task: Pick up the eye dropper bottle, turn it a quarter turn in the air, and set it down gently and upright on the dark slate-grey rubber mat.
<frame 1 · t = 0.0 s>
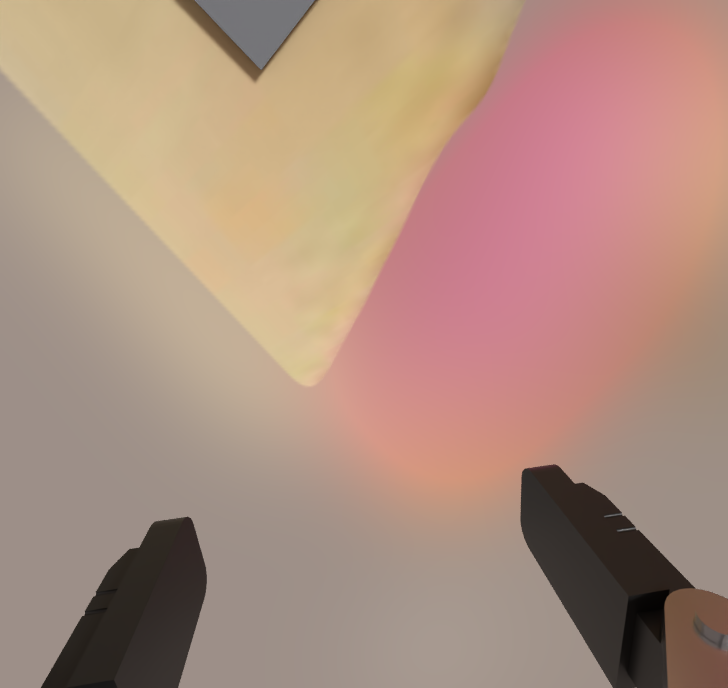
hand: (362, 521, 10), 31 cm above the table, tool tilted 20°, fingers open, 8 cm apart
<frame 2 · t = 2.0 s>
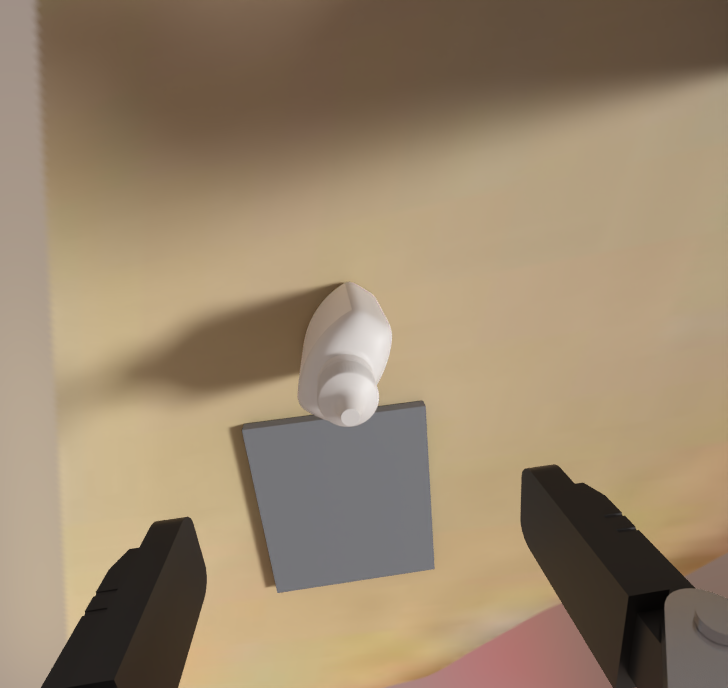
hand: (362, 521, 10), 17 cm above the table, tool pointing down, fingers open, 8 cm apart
eye dropper bottle: (338, 323, 27), on the table
slate mat: (346, 498, 31), on the table
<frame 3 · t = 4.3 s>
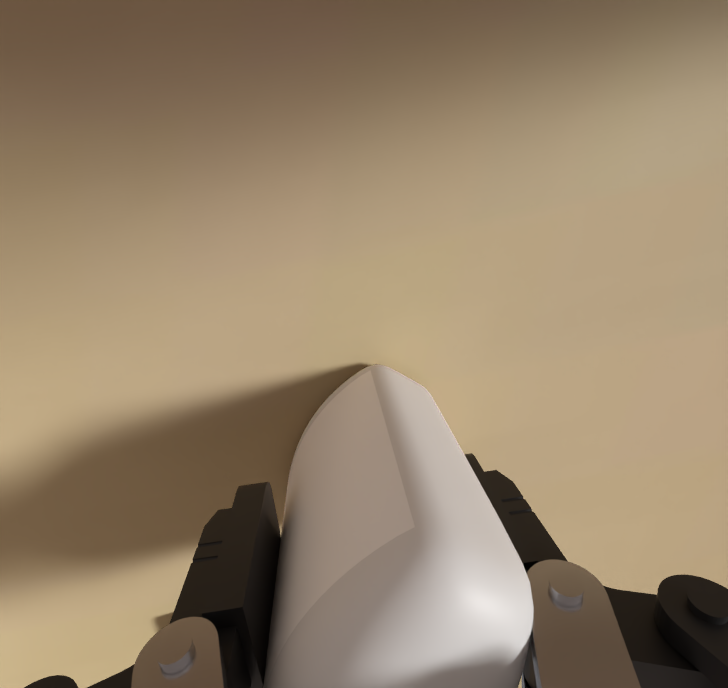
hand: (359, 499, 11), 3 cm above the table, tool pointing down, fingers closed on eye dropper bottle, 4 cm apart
eye dropper bottle: (355, 436, 14), on the table, touching gripper
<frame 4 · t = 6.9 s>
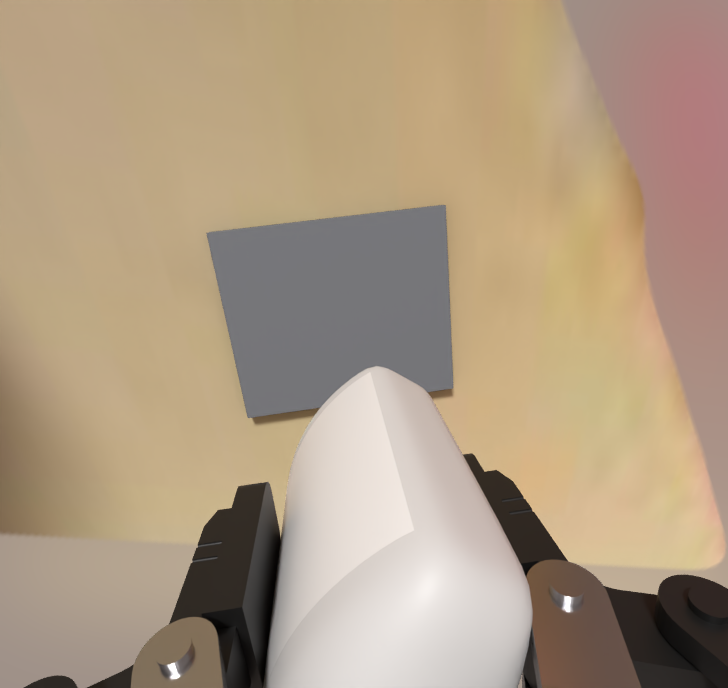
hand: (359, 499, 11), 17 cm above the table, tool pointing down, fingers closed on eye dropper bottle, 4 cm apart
eye dropper bottle: (355, 438, 14), point 14 cm above the table, touching gripper
slate mat: (340, 314, 27), on the table
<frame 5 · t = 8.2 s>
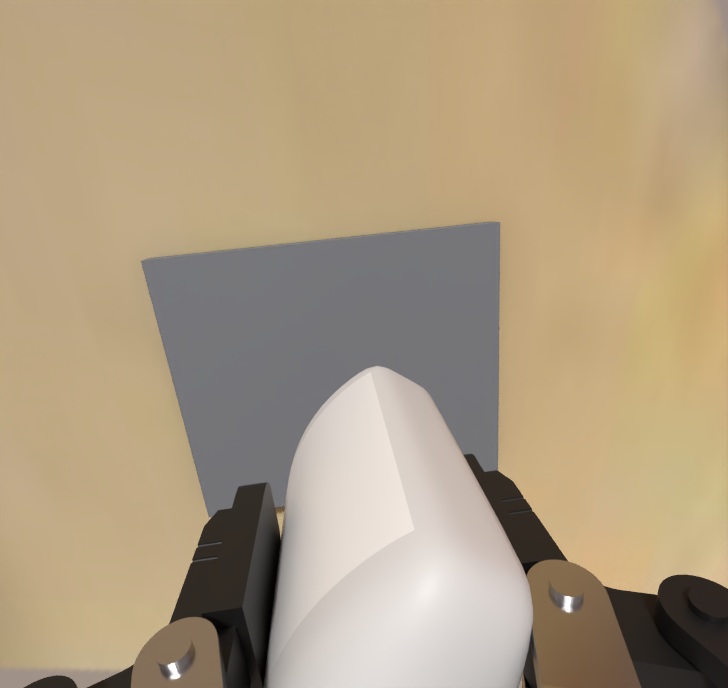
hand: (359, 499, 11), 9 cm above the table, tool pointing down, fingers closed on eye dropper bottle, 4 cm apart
eye dropper bottle: (355, 438, 14), point 6 cm above the table, touching gripper
slate mat: (341, 374, 19), on the table
when the fingers open (5 cm above the table, at t = 9.5 s): eye dropper bottle stays where it is, resting on slate mat.
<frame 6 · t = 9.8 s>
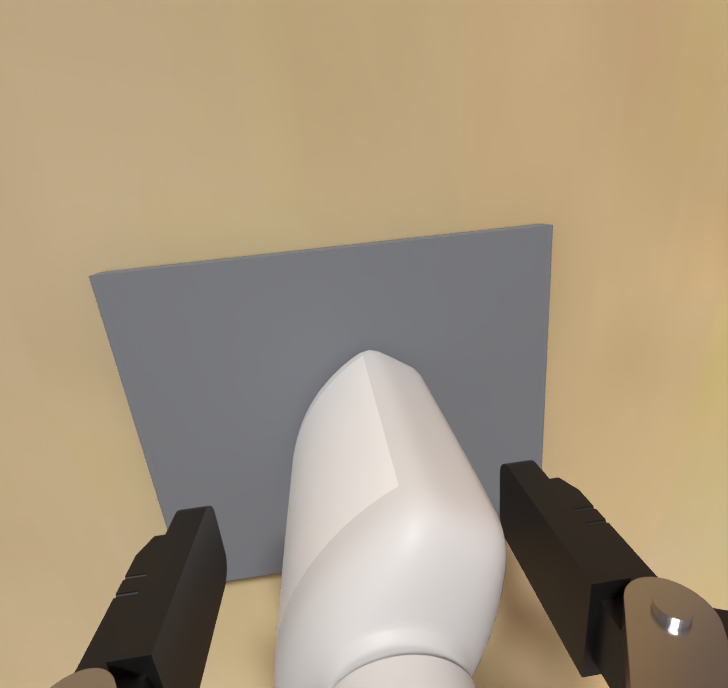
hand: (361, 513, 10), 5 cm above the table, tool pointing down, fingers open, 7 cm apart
eye dropper bottle: (353, 419, 15), point 1 cm above the table, touching slate mat
slate mat: (348, 414, 15), on the table
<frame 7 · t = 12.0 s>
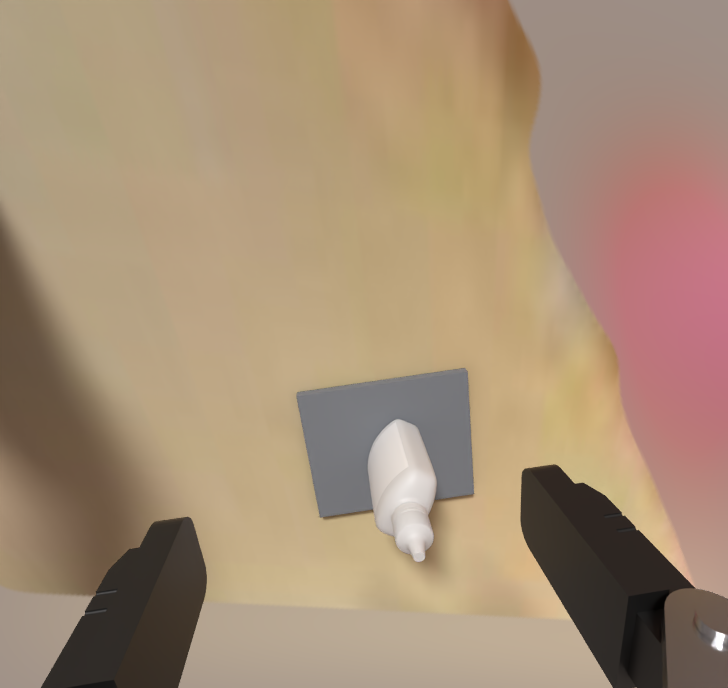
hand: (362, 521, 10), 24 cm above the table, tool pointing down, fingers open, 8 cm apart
eye dropper bottle: (391, 445, 36), point 1 cm above the table, touching slate mat
slate mat: (389, 443, 37), on the table
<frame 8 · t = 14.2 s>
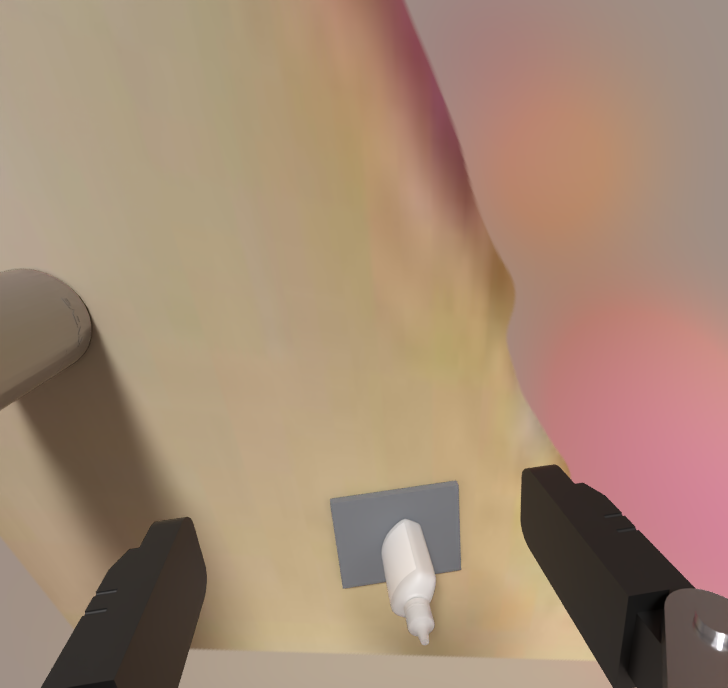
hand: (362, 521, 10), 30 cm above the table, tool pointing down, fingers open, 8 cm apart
eye dropper bottle: (399, 536, 48), point 1 cm above the table, touching slate mat
slate mat: (397, 533, 48), on the table
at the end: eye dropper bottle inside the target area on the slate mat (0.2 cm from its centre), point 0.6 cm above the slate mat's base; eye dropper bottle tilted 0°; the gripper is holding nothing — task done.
